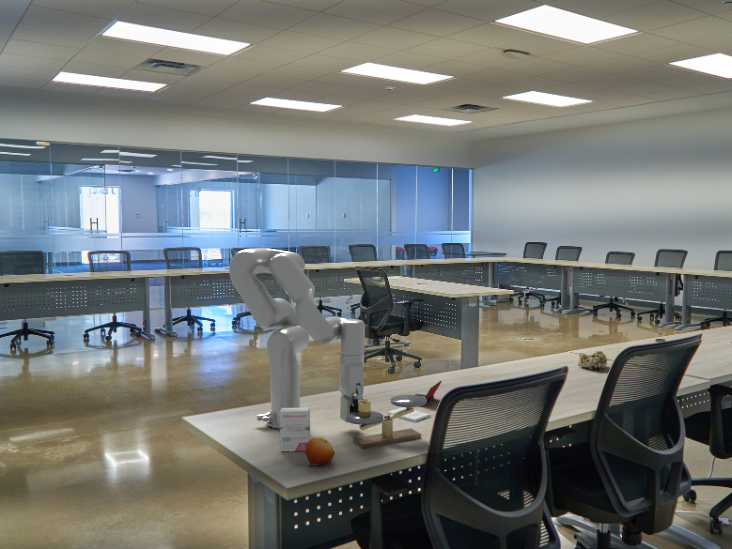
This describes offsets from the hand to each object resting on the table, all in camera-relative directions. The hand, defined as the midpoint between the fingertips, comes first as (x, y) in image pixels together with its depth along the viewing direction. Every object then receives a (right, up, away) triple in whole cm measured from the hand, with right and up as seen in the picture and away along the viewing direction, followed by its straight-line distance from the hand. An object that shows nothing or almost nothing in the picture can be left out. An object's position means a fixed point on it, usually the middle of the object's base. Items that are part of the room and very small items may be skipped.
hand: (350, 414), depth 192 cm
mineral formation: (+108, +2, +81) cm, 135 cm away
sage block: (0, -2, 0) cm, 2 cm away
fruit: (-8, -7, -28) cm, 30 cm away
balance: (+11, -6, -10) cm, 16 cm away
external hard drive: (+20, -5, +15) cm, 25 cm away
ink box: (-16, -7, -16) cm, 23 cm away
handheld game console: (+26, -3, +32) cm, 41 cm away
